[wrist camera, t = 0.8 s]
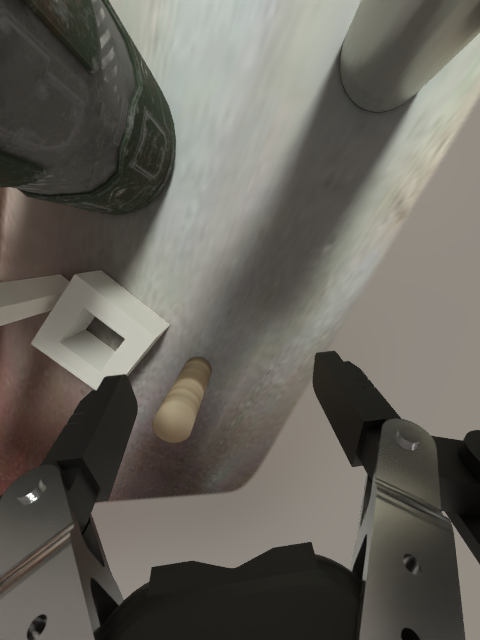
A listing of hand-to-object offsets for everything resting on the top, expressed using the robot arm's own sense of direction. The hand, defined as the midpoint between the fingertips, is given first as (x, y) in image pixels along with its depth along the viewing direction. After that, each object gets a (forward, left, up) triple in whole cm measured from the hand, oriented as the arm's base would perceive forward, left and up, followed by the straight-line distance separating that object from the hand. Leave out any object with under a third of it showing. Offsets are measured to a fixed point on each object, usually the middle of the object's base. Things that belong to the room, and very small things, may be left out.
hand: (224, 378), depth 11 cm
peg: (+14, 0, -23) cm, 27 cm away
